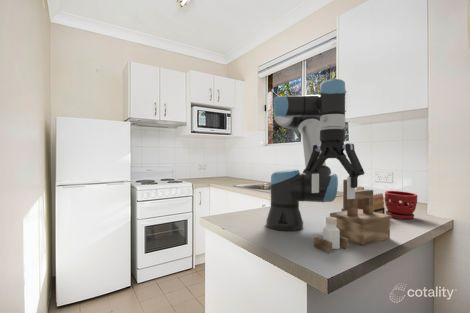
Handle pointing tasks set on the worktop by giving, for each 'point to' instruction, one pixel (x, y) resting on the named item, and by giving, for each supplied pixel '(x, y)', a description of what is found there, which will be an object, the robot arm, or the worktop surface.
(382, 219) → the wooden post stand
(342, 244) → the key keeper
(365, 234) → the open wooden box
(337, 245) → the pepper shaker
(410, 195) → the plant pot
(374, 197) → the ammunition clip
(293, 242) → the worktop surface
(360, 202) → the wooden block
